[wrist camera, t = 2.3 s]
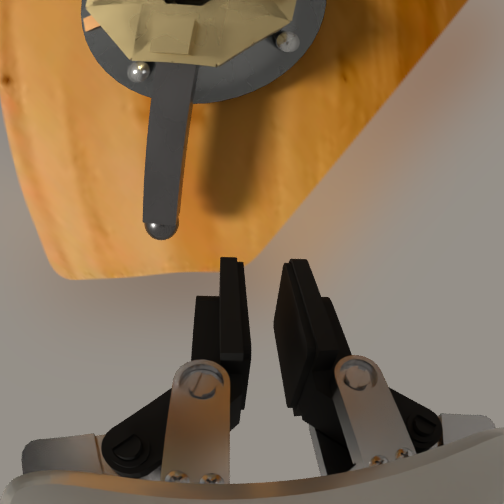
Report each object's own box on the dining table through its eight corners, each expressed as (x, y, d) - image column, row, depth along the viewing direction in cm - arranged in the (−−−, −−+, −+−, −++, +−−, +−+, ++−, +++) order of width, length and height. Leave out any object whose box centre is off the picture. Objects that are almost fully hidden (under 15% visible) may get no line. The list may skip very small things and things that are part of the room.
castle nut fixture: (136, -75, 12) (110, -110, 6) (299, -61, 13) (324, -97, 8) (98, 216, 24) (68, 260, 19) (237, 232, 26) (241, 281, 21)
